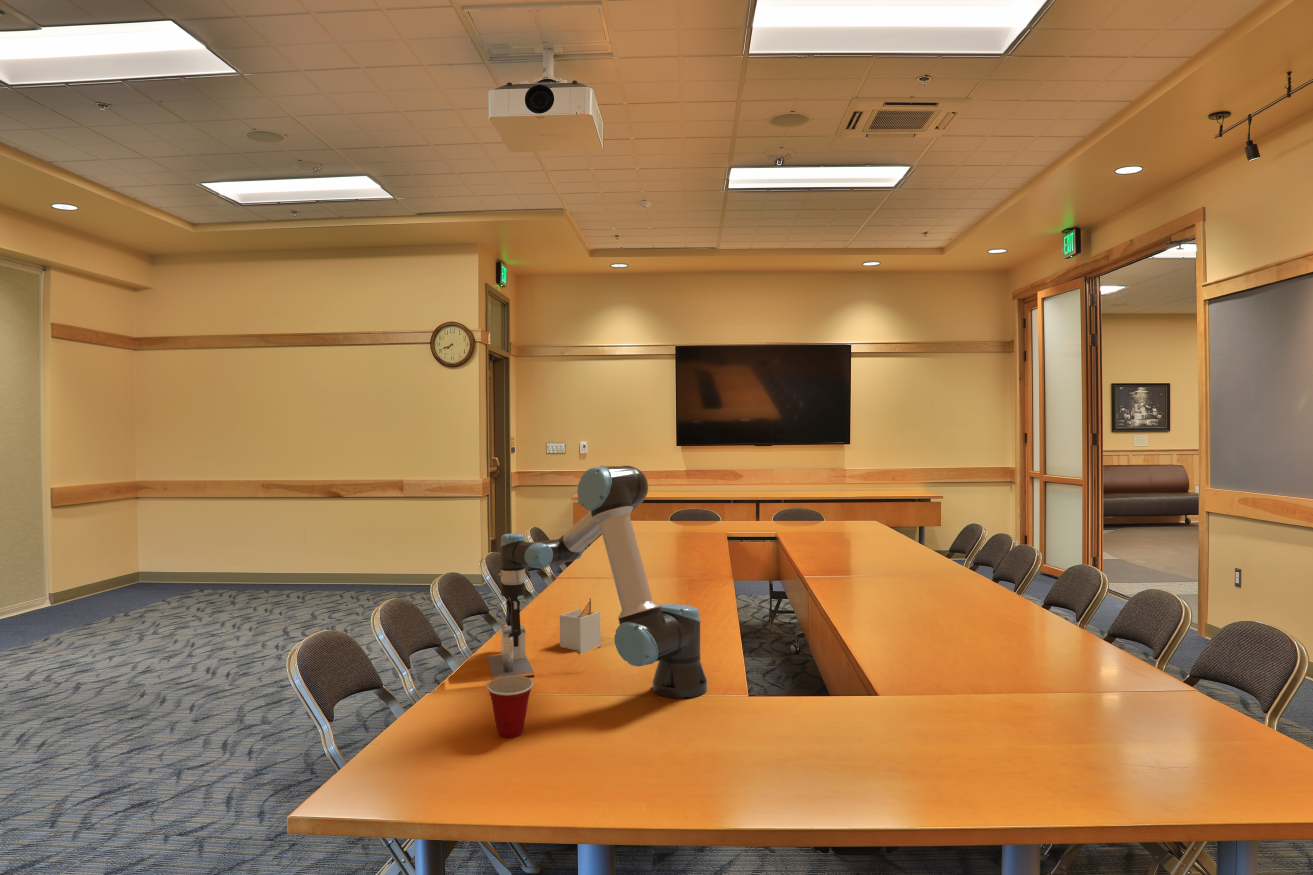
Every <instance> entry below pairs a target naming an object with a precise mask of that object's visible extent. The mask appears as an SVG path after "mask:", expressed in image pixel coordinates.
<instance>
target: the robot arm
mask: <svg viewBox="0 0 1313 875" xmlns="http://www.w3.org/2000/svg"><path fill="white" fill-rule="evenodd" d="M648 491H649V483H648V479H647V477H646V475H645V474H644V472H643V471H642V470H640V469H638V468H637V467H635V466H631V465H611V466H608V465H607V466H606V465H600V466H596V467H590V468H588V469H587V470H585V471H584V472H583V474H582V475H581V476H580V478H579V481H578V484H577V492H576V494H577V499H578V502H579V504H580V505H581V507H583V508H584V509H585V510H587V511H588V512H587V513H586V514H585V515H584V516H583V517H582V518H580V520H578V521H577V522H576V523H574V525H573V526H572V527H570V529H569V530H568V531H566V532H565V533H564V534H563V535H562V536H560V537H559V538H557V539H549V540H542V541H541V540H540V541H535V542H531V541H526V539H525V535H524V534H523V533H505V534H503V535H501V537H500V547H499V549H500V572H499V573H498V576H499V577H500V582H501V584H500V594H501V596H502V597H505V598H506V601H505V605H506V608H505V609H506V613H505V614H506V615H505V622H506V626H511V632H512V634H509V636H513V657H519V656H520V635H521V628H520V625H521V613H520V612H521V611H520V610H521V609H520V608H521V601H520V600H519V599H518V597H521V596H524V595H525V594H526V583H525V581H526V567H528V568H534V569H546V568H547V567H548V566H549V565H554V564H559V563H560V564H561V563H566V562H567V563H568V562H572V561H575V560H578V559H580V558H581V557H582V554H583V553H584V549H585V548H586V546H588V545H589V544H591V543H592V541H594V540H595V539H597V537H599V536H600V535H602V539H603V541H604V546H605V547H604V548H605V550H606V554H607V558H608V562H609V565H610V569H611V572H612V577H613V581H614V585H615V588H616V589H615V590H616V592H617V596H618V600H619V603H620V607H621V611H620V613H619V615H618V617H617V619H618V624H619V625H618V627H617V628H616V629H615V634H614V636H613V637H614V645H615V648H616V651H617V653H618V654H619V656H620V657H621V658H622V660H623V661H624V662H627V664H629V666H633V667H644V666H648V665H652V664H654V663H656V662H657V665H656V668H655V669H656V670H655V672H654V675H653V679H652V690H653V692H654V693H655V694H657V695H659V696H662V697H667V698H671V697H672V698H673V699H685V698H684V697H689V698H694V697H698V696H701V695H703V694H706V692H707V690H708V681H707V680H708V679H707V677H706V673H705V671H704V667H703V664H702V661H701V624H702V623H701V614H700V610H699V609H698V608H697V607H694V606H692V605H687V604H674V603H665V604H664V603H663V604H660V605H659V604H658V603H656V602H655V601H654V600H653V597H652V594H651V589H650V586H649V582H648V579H647V575H646V571H645V567H644V563H643V560H642V556H641V552H640V549H639V544H638V541H637V538H636V534H635V531H634V526H633V523H632V520H631V513H632V512H634V510H635V509H637V508H638V507H639V506H640V505H642V503H643V502H644V501H645V499H646V498H647V495H648Z"/></svg>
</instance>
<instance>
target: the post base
mask: <svg viewBox="0 0 1313 875" xmlns="http://www.w3.org/2000/svg"><path fill="white" fill-rule="evenodd" d="M486 659H487V663H488V666H489V670H490V673H491V677H492V678H493V679H494V678H498V677H502V676H509V675H522V674H528V675H523V676H524V677H528V678H530V679H533V678H535V674H534V673H535V672H534V669H533V668H532V665H531V662H530V661H529V659H528V657H527V655H526V659H517V660H514V657H513V636H504V637H503V658H502V655H501V653H500V654H491V655H486ZM529 674H530V675H529ZM492 678H491V680H493V679H492Z"/></svg>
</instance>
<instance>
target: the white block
mask: <svg viewBox="0 0 1313 875" xmlns="http://www.w3.org/2000/svg"><path fill="white" fill-rule="evenodd" d="M520 628H521V635H520V656H519V657H514V660H517V659H526V656H527V655H526V654H527V653H526V629H525V626H524V625H523V624H520ZM500 633H501V634H500V637H501V638H500V640H501V641H500V643H501V644H500V646H501V647H500V649H501V653H500V654H501V655H502V658H503V637H504V636H509V634H512V632H511V626H508V625H506V626H501V629H500Z"/></svg>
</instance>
